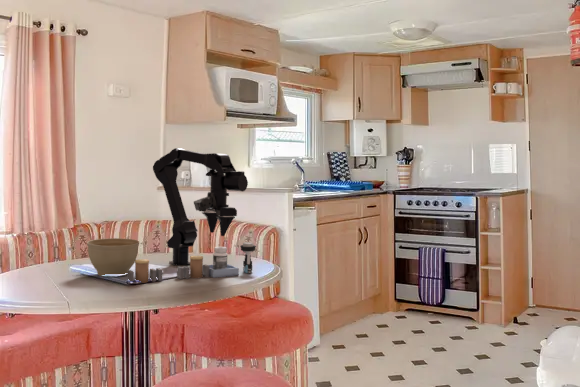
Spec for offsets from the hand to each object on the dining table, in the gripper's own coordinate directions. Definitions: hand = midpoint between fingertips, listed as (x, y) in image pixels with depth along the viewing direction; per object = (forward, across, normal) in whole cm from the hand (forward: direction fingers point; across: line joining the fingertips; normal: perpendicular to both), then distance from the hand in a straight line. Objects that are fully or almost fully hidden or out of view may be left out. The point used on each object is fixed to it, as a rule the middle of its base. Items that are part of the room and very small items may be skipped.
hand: (217, 234), depth 200 cm
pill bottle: (+12, +9, -2) cm, 15 cm away
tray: (+12, +9, -2) cm, 15 cm away
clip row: (+12, +10, -20) cm, 26 cm away
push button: (+12, +10, +8) cm, 17 cm away
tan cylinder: (+12, +10, -11) cm, 19 cm away
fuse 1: (+12, +10, -29) cm, 33 cm away
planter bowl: (+13, -4, -35) cm, 37 cm away
